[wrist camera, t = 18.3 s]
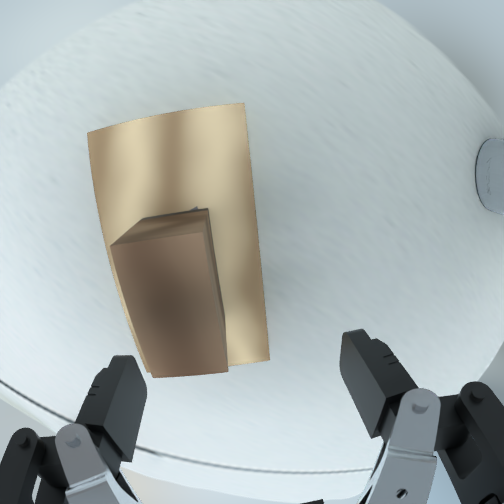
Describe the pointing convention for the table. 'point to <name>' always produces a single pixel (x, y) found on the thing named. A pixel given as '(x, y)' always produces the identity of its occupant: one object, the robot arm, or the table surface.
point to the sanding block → (174, 293)
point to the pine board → (189, 202)
